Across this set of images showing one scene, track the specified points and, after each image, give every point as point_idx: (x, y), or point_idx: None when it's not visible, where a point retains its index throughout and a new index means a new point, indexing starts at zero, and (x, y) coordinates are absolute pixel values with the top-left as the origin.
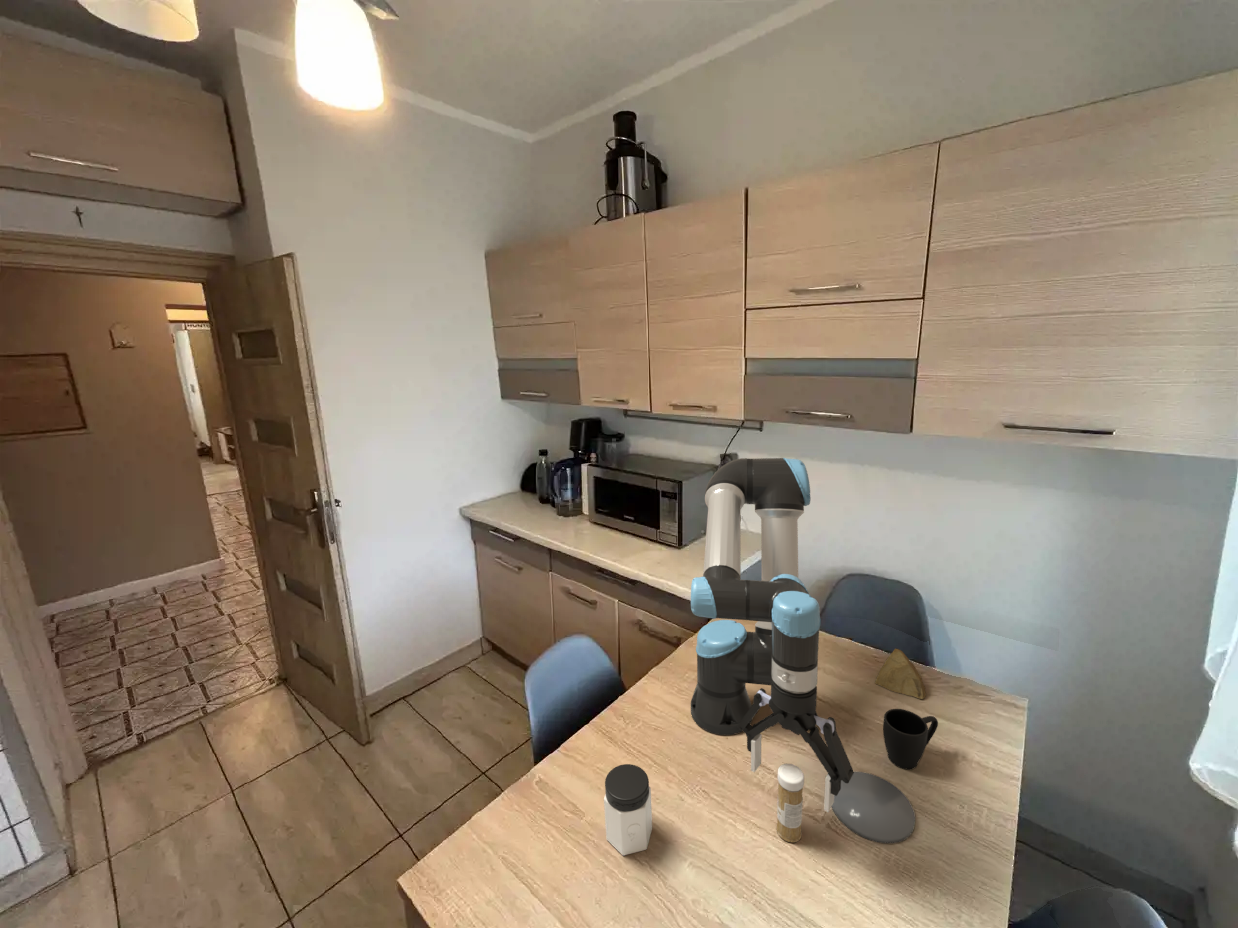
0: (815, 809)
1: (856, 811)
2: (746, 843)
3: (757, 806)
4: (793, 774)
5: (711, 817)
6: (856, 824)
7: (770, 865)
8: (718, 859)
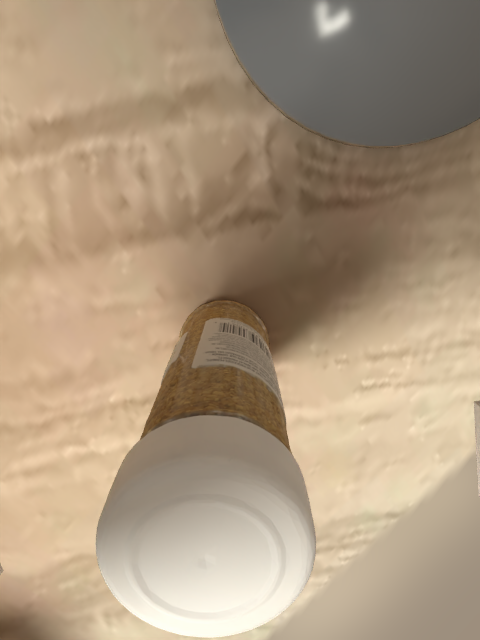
0: (233, 173)
1: (374, 48)
2: None
3: (84, 340)
4: (234, 563)
5: (25, 487)
6: (402, 119)
7: None
8: None
